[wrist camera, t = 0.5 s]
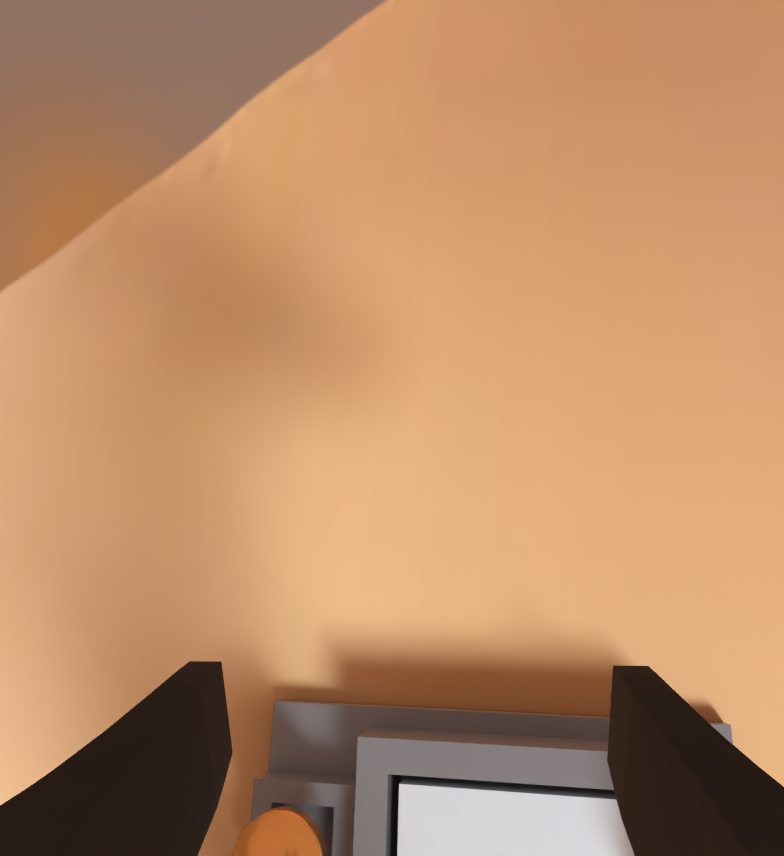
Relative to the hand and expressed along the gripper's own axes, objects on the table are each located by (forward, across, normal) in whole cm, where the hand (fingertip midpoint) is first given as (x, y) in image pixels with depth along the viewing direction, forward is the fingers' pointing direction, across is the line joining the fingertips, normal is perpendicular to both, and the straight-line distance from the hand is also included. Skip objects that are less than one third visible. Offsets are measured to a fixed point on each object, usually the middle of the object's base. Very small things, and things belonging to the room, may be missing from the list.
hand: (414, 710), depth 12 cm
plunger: (+14, +7, +19) cm, 25 cm away
